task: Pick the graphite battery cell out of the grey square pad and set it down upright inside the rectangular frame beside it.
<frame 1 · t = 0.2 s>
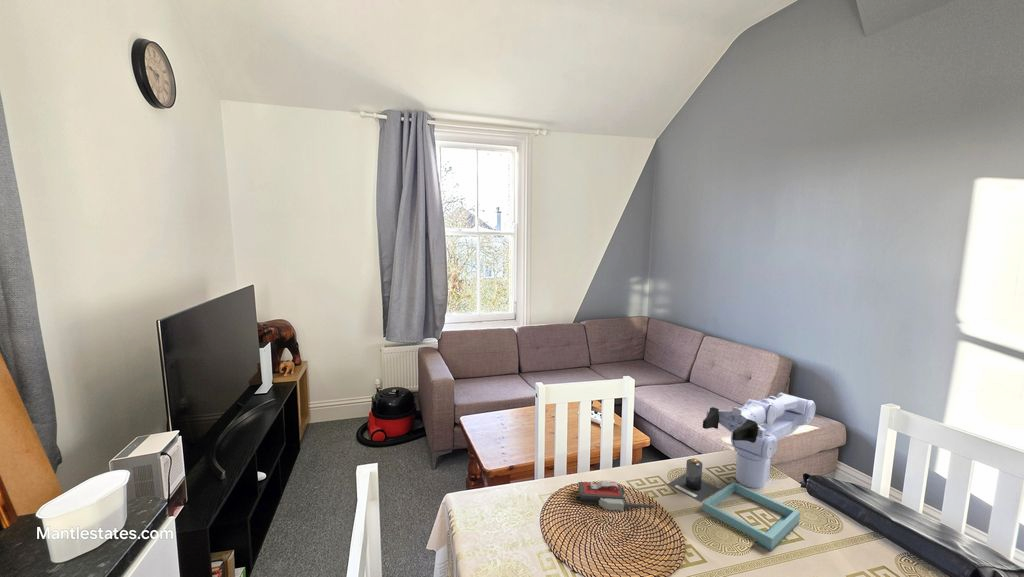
hand: (718, 430, 105), 21 cm above the table, tool horizontal, fingers open, 7 cm apart
grey square pad: (693, 489, 115), on the table
battery cell: (693, 486, 115), point 1 cm above the table, touching grey square pad
rectangular frame: (749, 518, 103), on the table
walkie-talkie: (612, 502, 110), on the table
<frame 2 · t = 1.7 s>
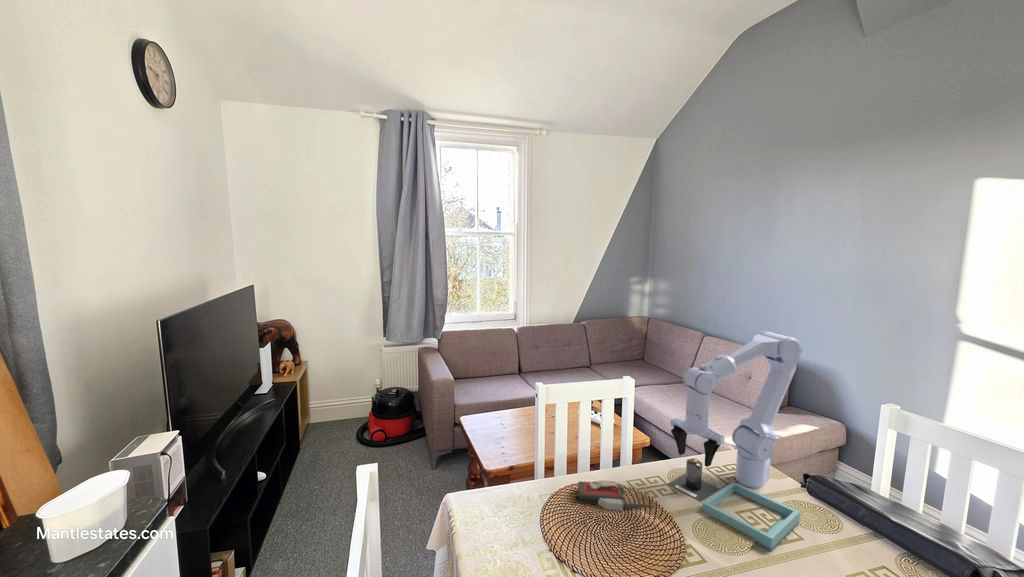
hand: (694, 459, 114), 9 cm above the table, tool pointing down, fingers open, 7 cm apart
nothing on the table moved.
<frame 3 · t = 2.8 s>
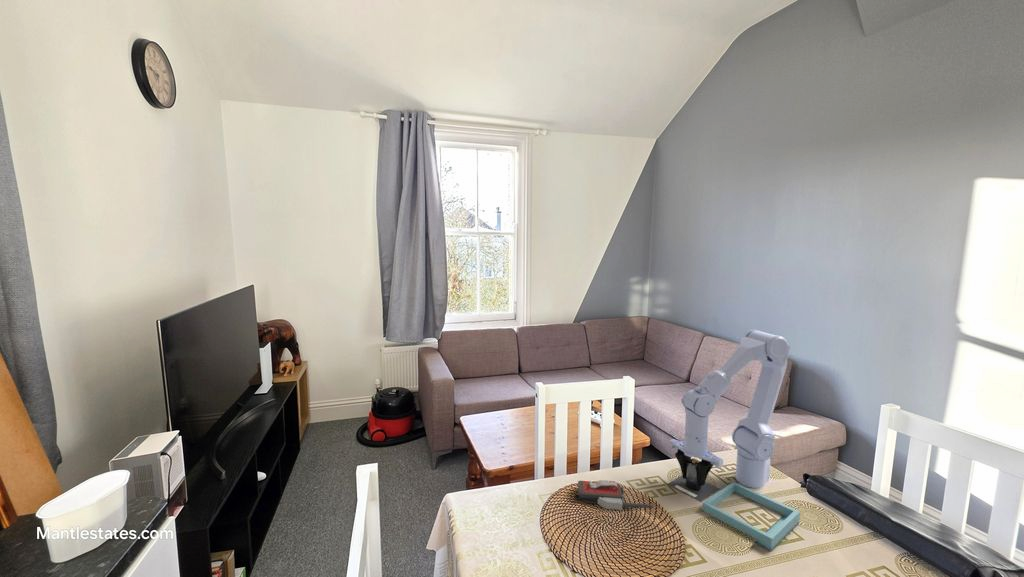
hand: (693, 481, 115), 3 cm above the table, tool pointing down, fingers closed on battery cell, 4 cm apart
battery cell: (693, 486, 115), point 1 cm above the table, touching grey square pad, gripper
everything else where it was.
when the fingers open (4 cm above the table, at t = 6.7 s): battery cell drops 2 cm, resting on rectangular frame.
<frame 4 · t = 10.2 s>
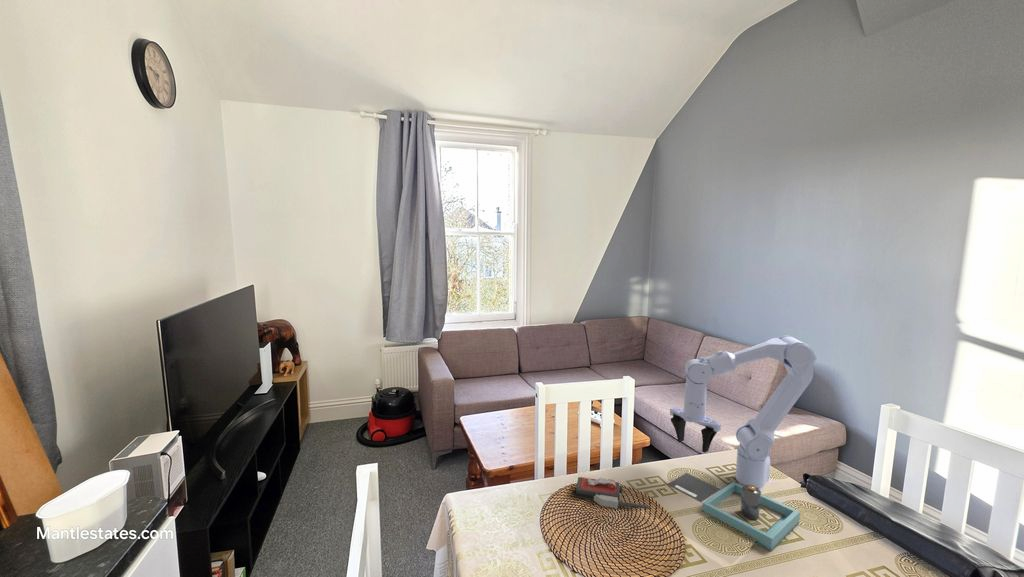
hand: (692, 446, 121), 9 cm above the table, tool pointing down, fingers open, 7 cm apart
battery cell: (749, 516, 103), point 1 cm above the table, touching rectangular frame
at the end: battery cell inside the target area on the rectangular frame (0.1 cm from its centre), point 0.6 cm above the rectangular frame's base; battery cell tilted 1°; the gripper is holding nothing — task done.
